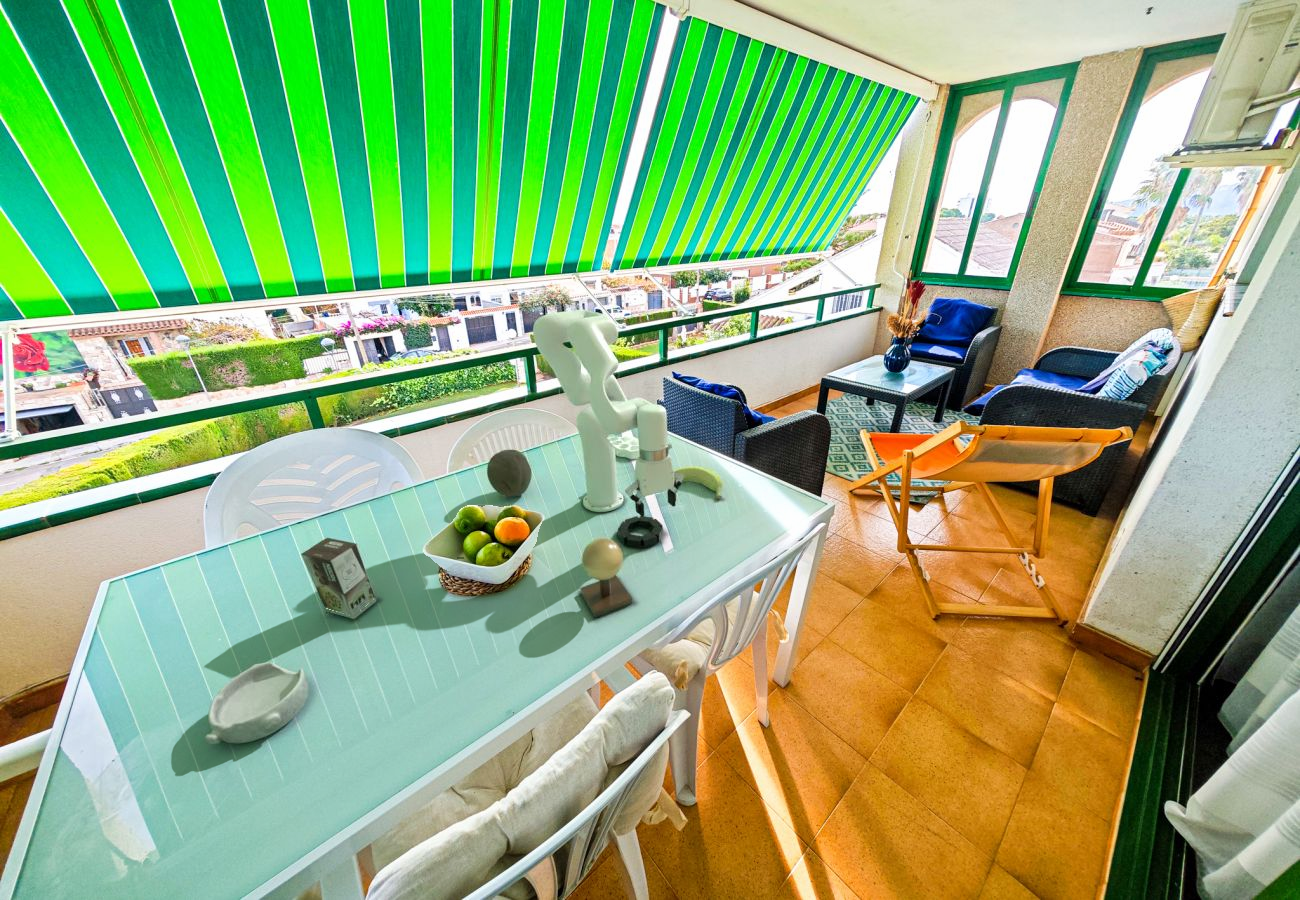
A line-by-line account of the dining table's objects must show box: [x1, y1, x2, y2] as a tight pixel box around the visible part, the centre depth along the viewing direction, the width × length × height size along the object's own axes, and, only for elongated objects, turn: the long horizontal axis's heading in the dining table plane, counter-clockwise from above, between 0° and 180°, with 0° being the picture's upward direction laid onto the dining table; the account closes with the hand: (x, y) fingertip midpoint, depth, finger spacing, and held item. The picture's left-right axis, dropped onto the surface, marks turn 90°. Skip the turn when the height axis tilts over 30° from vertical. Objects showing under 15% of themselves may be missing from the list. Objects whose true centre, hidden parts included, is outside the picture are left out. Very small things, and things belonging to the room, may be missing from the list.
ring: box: [617, 515, 664, 549], centre depth 126 cm, size 12×12×2 cm
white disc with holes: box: [607, 434, 639, 460], centre depth 179 cm, size 3×18×15 cm
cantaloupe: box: [486, 449, 533, 498], centre depth 147 cm, size 14×14×15 cm
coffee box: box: [300, 537, 377, 620], centre depth 102 cm, size 9×6×16 cm
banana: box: [673, 465, 723, 500], centre depth 149 cm, size 14×6×20 cm
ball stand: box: [579, 537, 633, 619], centre depth 102 cm, size 9×9×16 cm
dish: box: [205, 661, 310, 745], centre depth 80 cm, size 14×14×5 cm
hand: (656, 509), depth 125 cm, fingers open, 9 cm apart
